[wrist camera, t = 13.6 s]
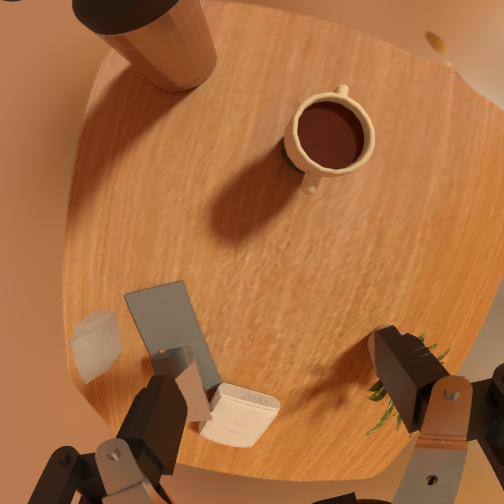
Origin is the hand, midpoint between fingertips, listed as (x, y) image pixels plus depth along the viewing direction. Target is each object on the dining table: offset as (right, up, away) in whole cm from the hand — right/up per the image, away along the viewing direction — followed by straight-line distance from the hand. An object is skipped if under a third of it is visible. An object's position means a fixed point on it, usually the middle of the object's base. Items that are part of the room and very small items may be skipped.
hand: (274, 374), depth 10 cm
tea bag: (-23, -7, +30) cm, 38 cm away
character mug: (+6, +17, +23) cm, 30 cm away
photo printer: (-1, -17, +29) cm, 34 cm away
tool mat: (-12, -9, +30) cm, 33 cm away
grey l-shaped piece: (-10, -15, +28) cm, 34 cm away
